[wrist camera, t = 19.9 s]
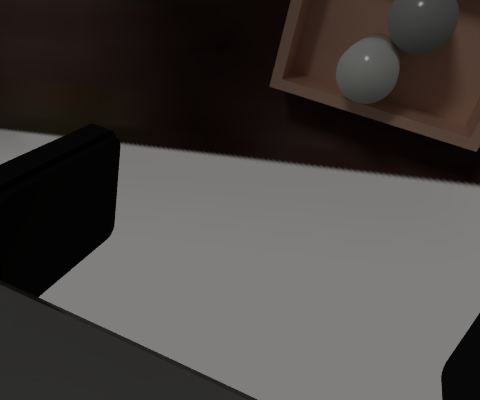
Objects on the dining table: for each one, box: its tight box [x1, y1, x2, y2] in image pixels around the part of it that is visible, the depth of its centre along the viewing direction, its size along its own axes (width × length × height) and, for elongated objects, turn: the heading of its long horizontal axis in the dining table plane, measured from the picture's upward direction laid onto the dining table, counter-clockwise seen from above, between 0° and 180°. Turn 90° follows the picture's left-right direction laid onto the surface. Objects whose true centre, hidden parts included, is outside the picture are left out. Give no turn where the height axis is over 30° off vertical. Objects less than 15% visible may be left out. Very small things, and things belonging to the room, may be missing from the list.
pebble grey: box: [336, 33, 402, 104], centre depth 31 cm, size 4×4×6 cm
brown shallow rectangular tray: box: [270, 0, 480, 152], centre depth 31 cm, size 12×16×4 cm
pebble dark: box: [387, 0, 459, 54], centre depth 29 cm, size 4×4×6 cm
